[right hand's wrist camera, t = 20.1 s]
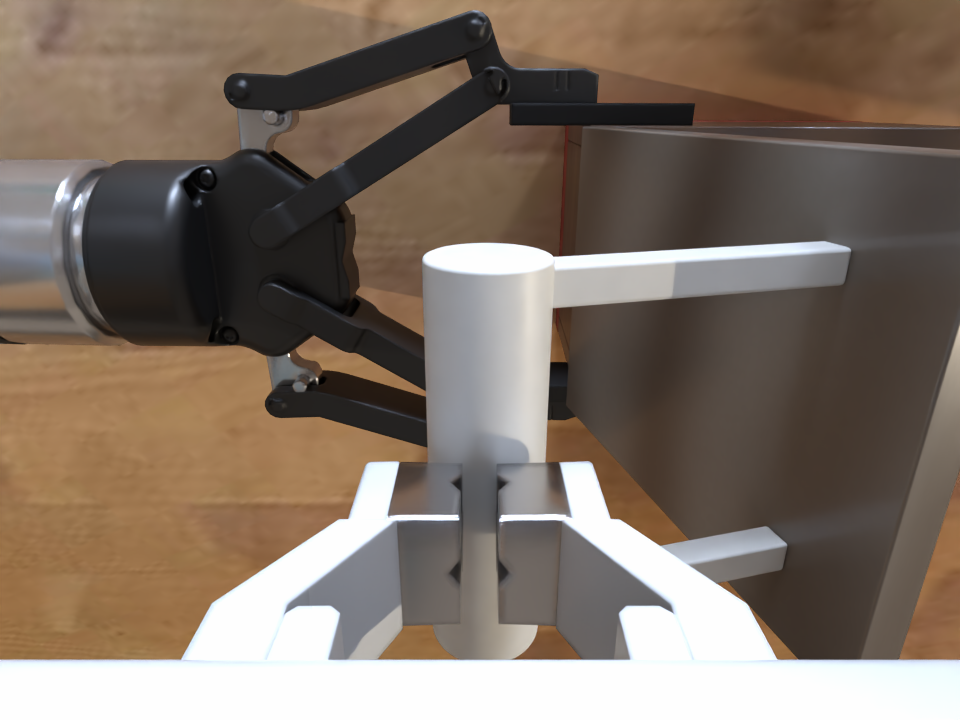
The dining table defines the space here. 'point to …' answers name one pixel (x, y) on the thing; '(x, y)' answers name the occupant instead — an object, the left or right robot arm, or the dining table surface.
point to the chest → (777, 129)
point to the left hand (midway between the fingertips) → (667, 258)
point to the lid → (726, 371)
